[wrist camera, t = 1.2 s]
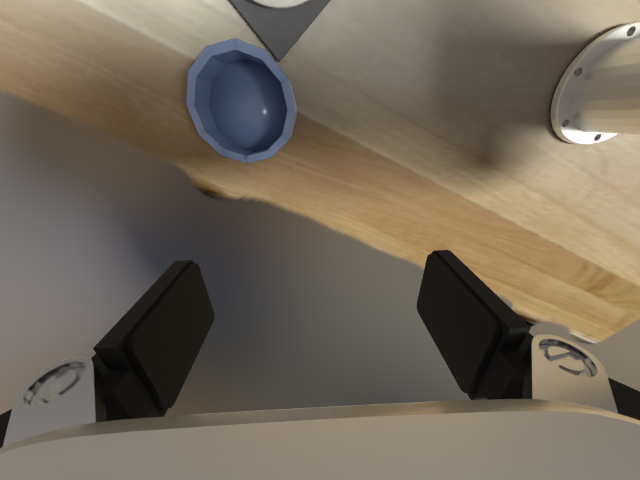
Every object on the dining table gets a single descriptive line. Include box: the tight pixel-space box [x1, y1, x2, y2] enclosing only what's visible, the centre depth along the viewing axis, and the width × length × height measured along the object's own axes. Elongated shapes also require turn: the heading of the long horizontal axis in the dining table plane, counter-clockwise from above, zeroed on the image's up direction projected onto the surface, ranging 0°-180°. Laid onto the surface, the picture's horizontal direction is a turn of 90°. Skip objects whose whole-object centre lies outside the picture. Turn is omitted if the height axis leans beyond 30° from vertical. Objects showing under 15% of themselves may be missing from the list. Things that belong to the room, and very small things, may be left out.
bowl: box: [186, 38, 298, 163], centre depth 27 cm, size 11×11×5 cm
